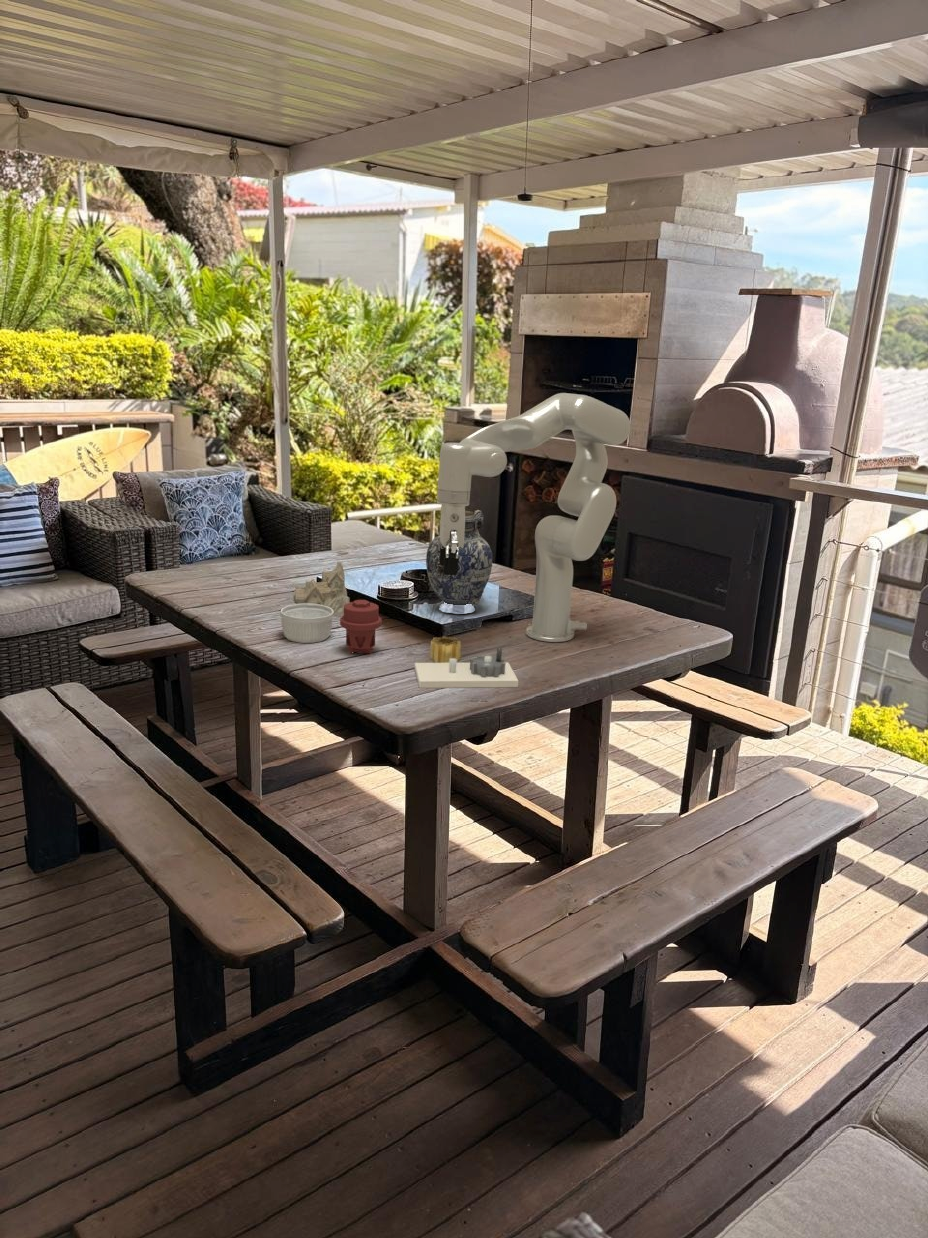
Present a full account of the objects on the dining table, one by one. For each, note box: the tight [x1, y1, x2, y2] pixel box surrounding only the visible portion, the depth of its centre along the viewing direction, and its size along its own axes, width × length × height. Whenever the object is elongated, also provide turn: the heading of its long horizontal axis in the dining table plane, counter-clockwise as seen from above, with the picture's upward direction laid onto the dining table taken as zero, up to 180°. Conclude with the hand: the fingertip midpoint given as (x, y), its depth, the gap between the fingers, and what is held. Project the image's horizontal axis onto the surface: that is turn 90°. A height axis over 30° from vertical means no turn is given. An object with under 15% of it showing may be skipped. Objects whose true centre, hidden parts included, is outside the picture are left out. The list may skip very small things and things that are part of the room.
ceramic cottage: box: [293, 560, 351, 618], centre depth 252 cm, size 16×16×15 cm
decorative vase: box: [425, 509, 493, 605], centre depth 256 cm, size 21×19×28 cm
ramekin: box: [279, 603, 335, 644], centre depth 230 cm, size 13×13×7 cm
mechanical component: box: [339, 599, 383, 654], centre depth 221 cm, size 12×10×10 cm
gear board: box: [414, 647, 519, 689], centre depth 207 cm, size 22×12×7 cm, turn 98°
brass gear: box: [429, 635, 462, 663], centre depth 219 cm, size 7×7×4 cm
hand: (448, 569), depth 216 cm, fingers open, 9 cm apart
